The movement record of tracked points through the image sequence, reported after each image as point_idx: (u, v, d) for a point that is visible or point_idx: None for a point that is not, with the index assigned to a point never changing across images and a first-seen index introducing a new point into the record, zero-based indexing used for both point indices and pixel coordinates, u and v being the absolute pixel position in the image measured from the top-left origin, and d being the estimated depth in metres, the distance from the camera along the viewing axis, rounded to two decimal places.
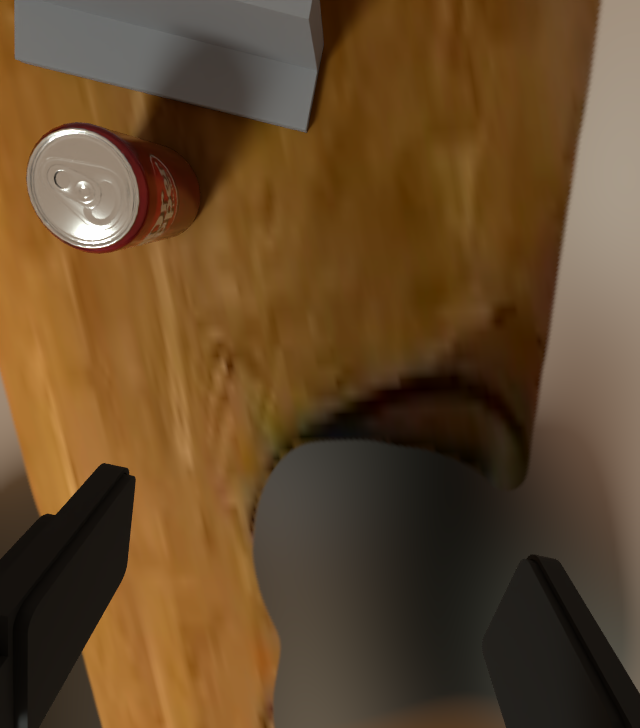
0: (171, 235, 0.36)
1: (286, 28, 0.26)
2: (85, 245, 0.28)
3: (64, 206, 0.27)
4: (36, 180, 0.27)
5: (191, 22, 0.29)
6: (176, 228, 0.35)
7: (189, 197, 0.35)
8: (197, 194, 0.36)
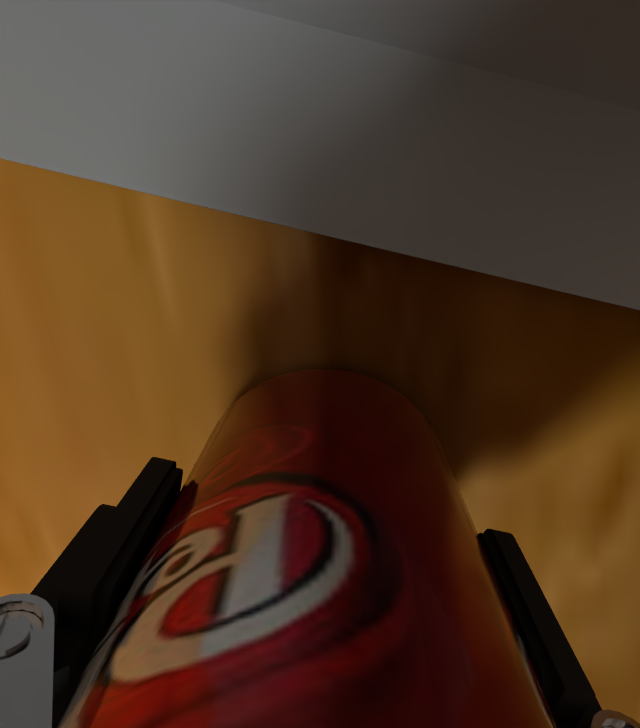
0: None
1: None
2: None
3: None
4: None
5: None
6: None
7: None
8: None
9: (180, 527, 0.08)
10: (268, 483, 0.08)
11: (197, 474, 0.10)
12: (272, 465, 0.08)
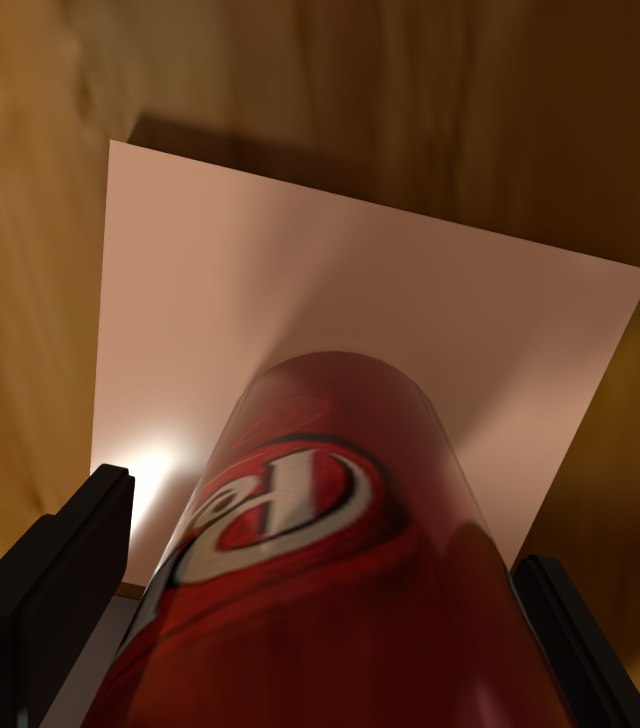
0: None
1: None
2: None
3: None
4: None
5: None
6: None
7: None
8: None
9: (219, 478, 0.09)
10: (295, 441, 0.09)
11: (227, 439, 0.11)
12: (297, 427, 0.09)
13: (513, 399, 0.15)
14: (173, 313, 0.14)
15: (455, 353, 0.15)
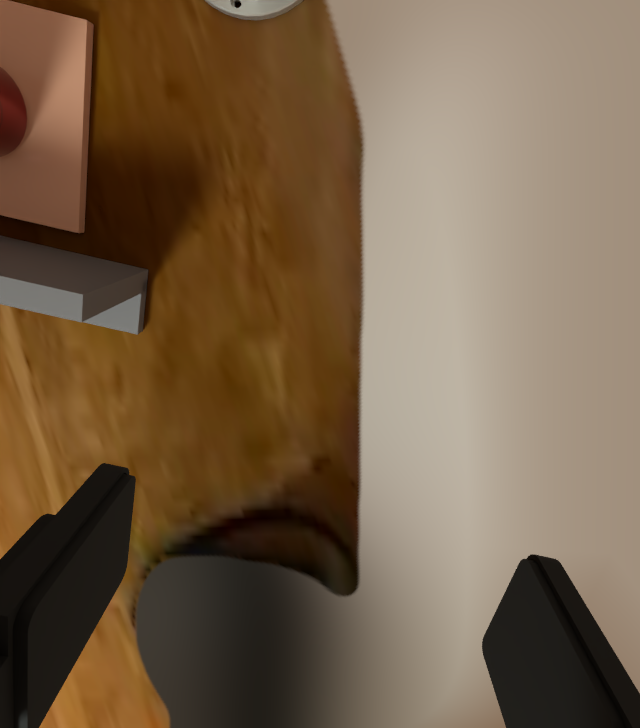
0: None
1: None
2: None
3: None
4: None
5: None
6: None
7: (2, 107, 0.34)
8: (20, 108, 0.36)
9: None
10: None
11: None
12: None
13: (53, 83, 0.36)
14: None
15: (24, 61, 0.36)
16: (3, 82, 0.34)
